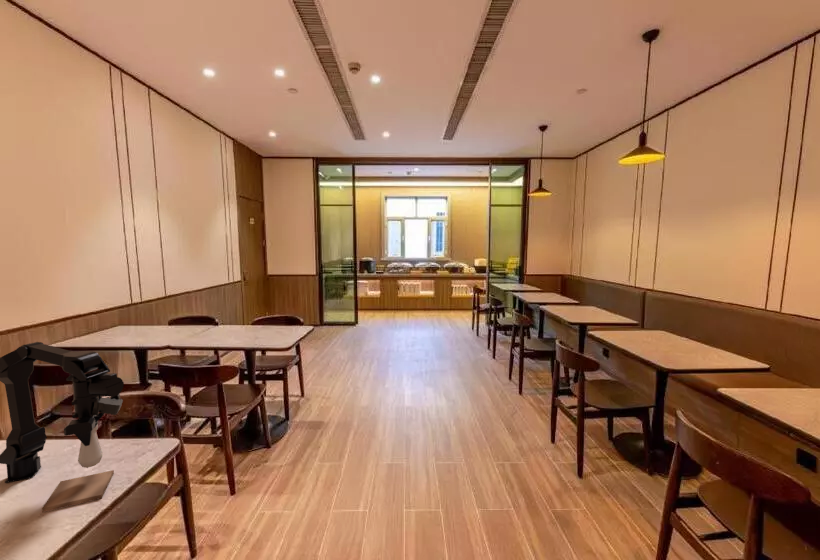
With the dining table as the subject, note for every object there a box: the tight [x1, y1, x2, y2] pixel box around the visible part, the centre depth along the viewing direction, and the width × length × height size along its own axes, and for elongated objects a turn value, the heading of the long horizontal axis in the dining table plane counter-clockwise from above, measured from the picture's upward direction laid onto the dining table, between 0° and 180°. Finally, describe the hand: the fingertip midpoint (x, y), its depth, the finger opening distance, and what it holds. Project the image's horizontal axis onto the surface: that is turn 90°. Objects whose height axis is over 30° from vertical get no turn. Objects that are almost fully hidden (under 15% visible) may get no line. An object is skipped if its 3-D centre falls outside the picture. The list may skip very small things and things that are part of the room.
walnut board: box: [41, 469, 115, 513], centre depth 109 cm, size 13×13×1 cm
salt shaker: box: [77, 422, 103, 469], centre depth 113 cm, size 6×6×13 cm
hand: (89, 442), depth 112 cm, fingers closed on salt shaker, 3 cm apart
